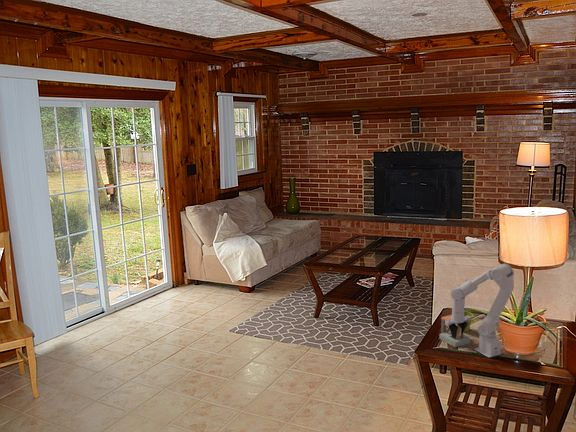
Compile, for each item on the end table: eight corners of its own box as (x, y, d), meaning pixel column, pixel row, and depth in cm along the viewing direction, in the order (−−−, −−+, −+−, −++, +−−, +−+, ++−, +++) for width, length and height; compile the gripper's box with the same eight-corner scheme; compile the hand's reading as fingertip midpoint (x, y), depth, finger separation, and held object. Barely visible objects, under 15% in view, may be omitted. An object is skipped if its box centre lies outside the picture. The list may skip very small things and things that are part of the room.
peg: (460, 339, 259) (461, 326, 258) (461, 342, 255) (461, 329, 254) (452, 338, 260) (453, 325, 258) (453, 342, 256) (454, 328, 255)
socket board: (470, 342, 256) (470, 338, 256) (454, 347, 252) (454, 342, 252) (454, 334, 266) (454, 330, 266) (439, 338, 262) (439, 333, 262)
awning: (457, 336, 264) (458, 317, 262) (446, 338, 261) (447, 320, 259) (451, 332, 268) (451, 314, 266) (440, 335, 265) (441, 317, 263)
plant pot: (475, 333, 267) (475, 317, 265) (456, 333, 267) (457, 317, 265) (469, 325, 276) (469, 310, 274) (451, 326, 276) (452, 311, 275)
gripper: (463, 305, 261) (462, 330, 264) (441, 310, 255) (440, 336, 258) (473, 310, 255) (472, 335, 257) (451, 315, 249) (450, 341, 252)
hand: (457, 336), depth 257 cm, fingers closed on peg, 4 cm apart
